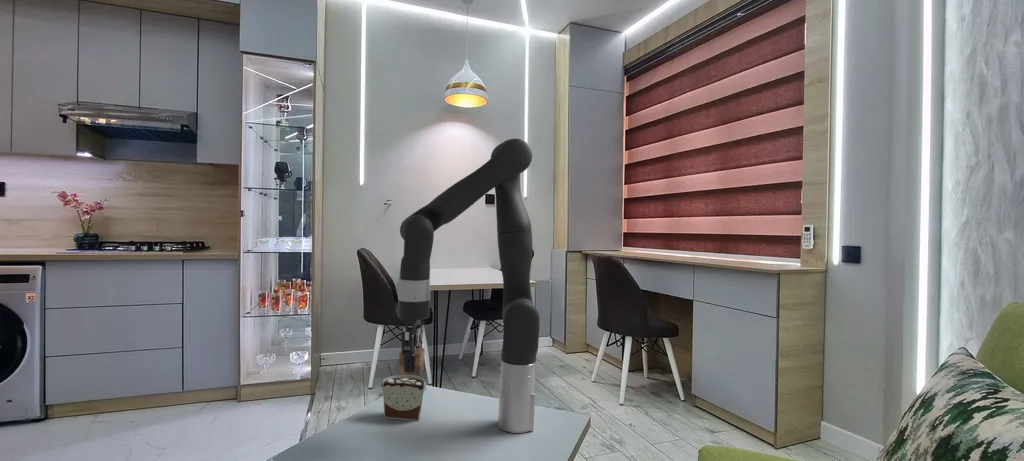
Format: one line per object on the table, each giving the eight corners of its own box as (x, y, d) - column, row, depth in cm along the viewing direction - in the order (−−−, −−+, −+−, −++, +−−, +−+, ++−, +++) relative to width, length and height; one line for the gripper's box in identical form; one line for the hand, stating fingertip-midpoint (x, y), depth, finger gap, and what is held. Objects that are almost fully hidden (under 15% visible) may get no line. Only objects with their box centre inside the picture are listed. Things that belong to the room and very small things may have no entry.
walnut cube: (424, 368, 111) (424, 348, 111) (419, 374, 106) (420, 353, 106) (403, 367, 111) (404, 347, 111) (398, 374, 106) (399, 352, 106)
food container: (430, 412, 125) (432, 376, 125) (424, 421, 119) (425, 383, 119) (387, 408, 126) (389, 372, 126) (379, 417, 120) (380, 379, 120)
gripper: (424, 303, 101) (421, 378, 101) (434, 294, 116) (432, 360, 116) (390, 302, 101) (388, 377, 101) (405, 293, 116) (403, 359, 116)
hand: (411, 368), depth 108 cm, fingers closed on walnut cube, 5 cm apart
